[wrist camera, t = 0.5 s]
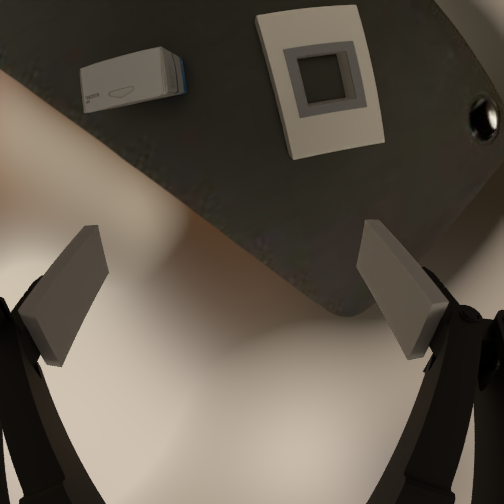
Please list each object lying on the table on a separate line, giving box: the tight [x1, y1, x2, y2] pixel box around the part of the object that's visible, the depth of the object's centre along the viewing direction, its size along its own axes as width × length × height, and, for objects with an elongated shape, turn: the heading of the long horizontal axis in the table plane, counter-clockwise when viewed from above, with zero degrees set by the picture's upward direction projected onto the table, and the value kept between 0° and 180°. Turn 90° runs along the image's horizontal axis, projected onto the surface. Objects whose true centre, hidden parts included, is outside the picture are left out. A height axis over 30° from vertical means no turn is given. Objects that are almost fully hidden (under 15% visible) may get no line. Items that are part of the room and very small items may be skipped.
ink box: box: [80, 47, 187, 113], centre depth 28 cm, size 8×5×12 cm, turn 95°
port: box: [255, 5, 385, 160], centre depth 32 cm, size 18×12×4 cm, turn 14°
